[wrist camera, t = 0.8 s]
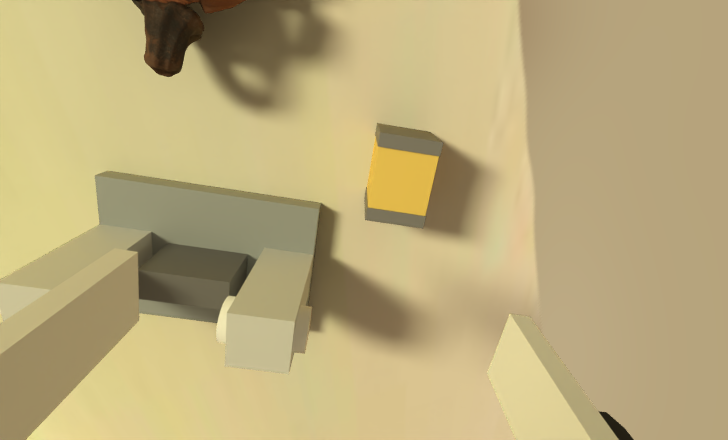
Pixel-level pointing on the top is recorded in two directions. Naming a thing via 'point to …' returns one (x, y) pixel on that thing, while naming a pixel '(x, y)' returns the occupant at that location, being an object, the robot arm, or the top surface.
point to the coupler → (401, 175)
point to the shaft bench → (205, 222)
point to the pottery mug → (174, 30)
